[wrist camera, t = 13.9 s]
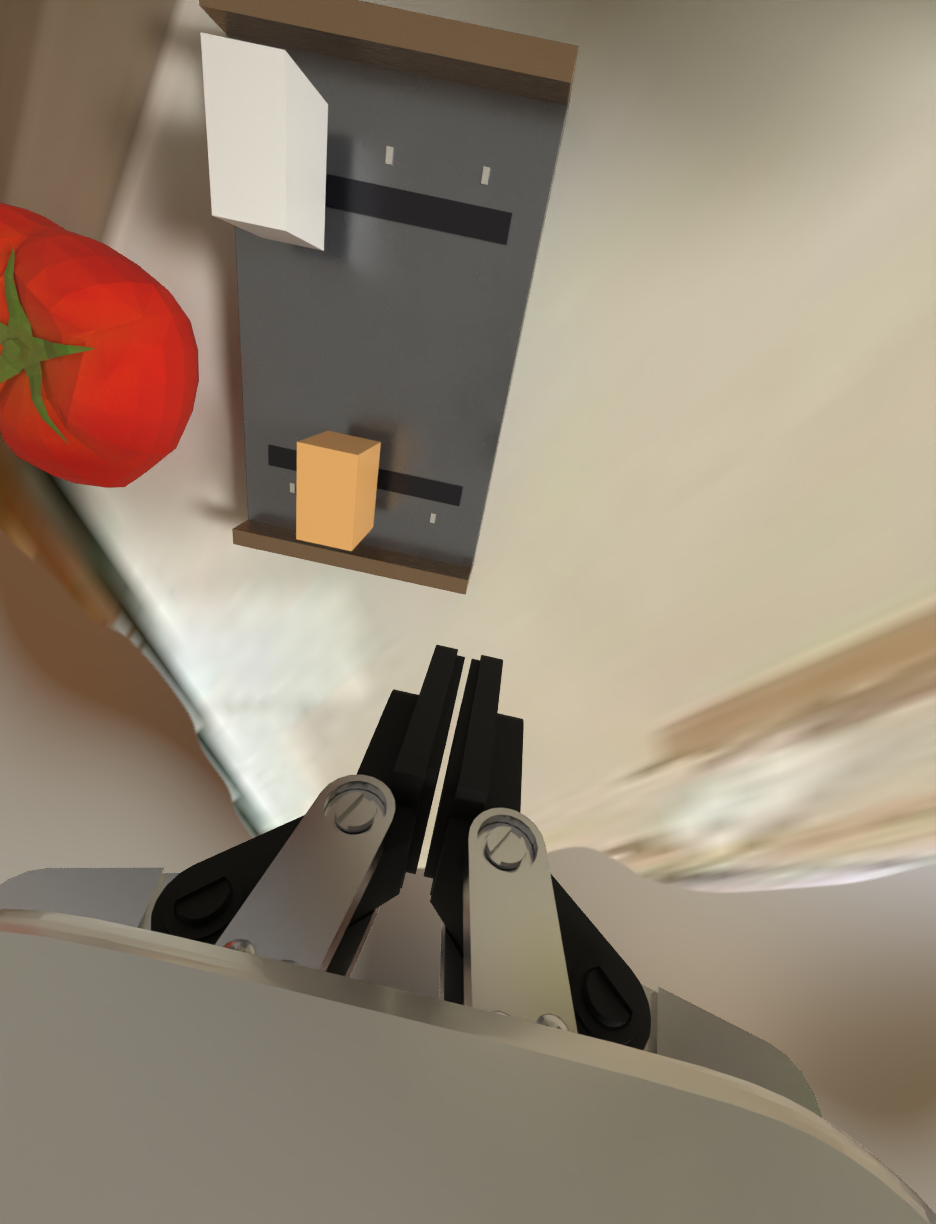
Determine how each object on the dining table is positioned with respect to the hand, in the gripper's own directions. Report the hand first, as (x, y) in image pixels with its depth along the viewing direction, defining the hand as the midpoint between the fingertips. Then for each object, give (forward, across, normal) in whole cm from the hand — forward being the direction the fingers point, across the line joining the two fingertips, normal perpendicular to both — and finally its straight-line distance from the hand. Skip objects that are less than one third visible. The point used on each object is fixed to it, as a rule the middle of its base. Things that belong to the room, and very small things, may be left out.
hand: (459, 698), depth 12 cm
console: (+22, +9, -6) cm, 24 cm away
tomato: (+22, +24, -3) cm, 33 cm away
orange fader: (+19, +9, +1) cm, 21 cm away
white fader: (+19, +12, -12) cm, 26 cm away
